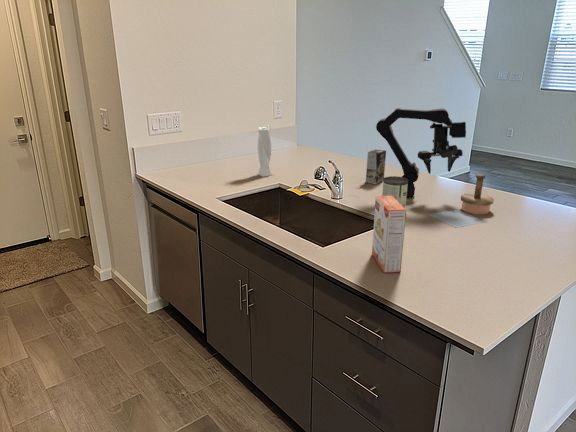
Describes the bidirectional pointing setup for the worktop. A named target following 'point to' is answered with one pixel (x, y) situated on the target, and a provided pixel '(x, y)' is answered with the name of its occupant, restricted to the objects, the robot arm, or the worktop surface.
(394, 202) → the cracker box
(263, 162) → the skyscraper
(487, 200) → the lid
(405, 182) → the coffee can
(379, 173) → the coffee box
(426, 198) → the worktop surface
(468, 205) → the bowl
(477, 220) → the mat
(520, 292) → the worktop surface
